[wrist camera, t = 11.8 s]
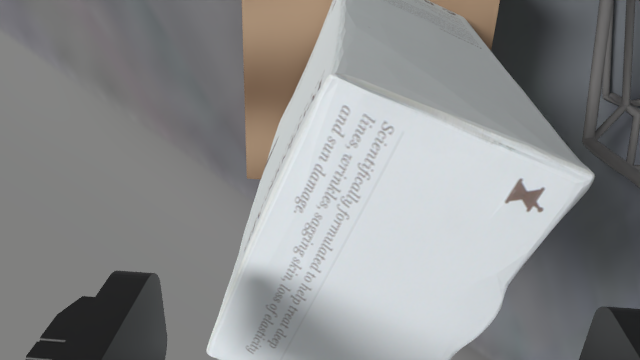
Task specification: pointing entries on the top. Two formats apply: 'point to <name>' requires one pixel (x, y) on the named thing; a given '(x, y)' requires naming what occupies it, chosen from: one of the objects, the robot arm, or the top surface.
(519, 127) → the skincare box
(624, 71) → the geometric lantern
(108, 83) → the top surface
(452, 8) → the light brown block
